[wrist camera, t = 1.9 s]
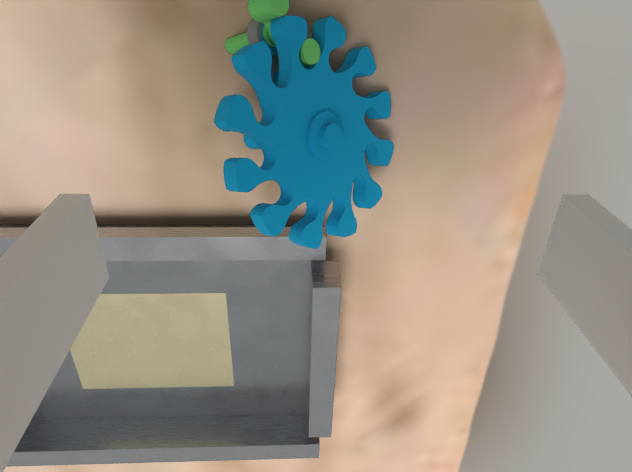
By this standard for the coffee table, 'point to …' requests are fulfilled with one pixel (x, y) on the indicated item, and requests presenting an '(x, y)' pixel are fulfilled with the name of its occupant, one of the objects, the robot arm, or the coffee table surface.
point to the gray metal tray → (194, 351)
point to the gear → (303, 123)
